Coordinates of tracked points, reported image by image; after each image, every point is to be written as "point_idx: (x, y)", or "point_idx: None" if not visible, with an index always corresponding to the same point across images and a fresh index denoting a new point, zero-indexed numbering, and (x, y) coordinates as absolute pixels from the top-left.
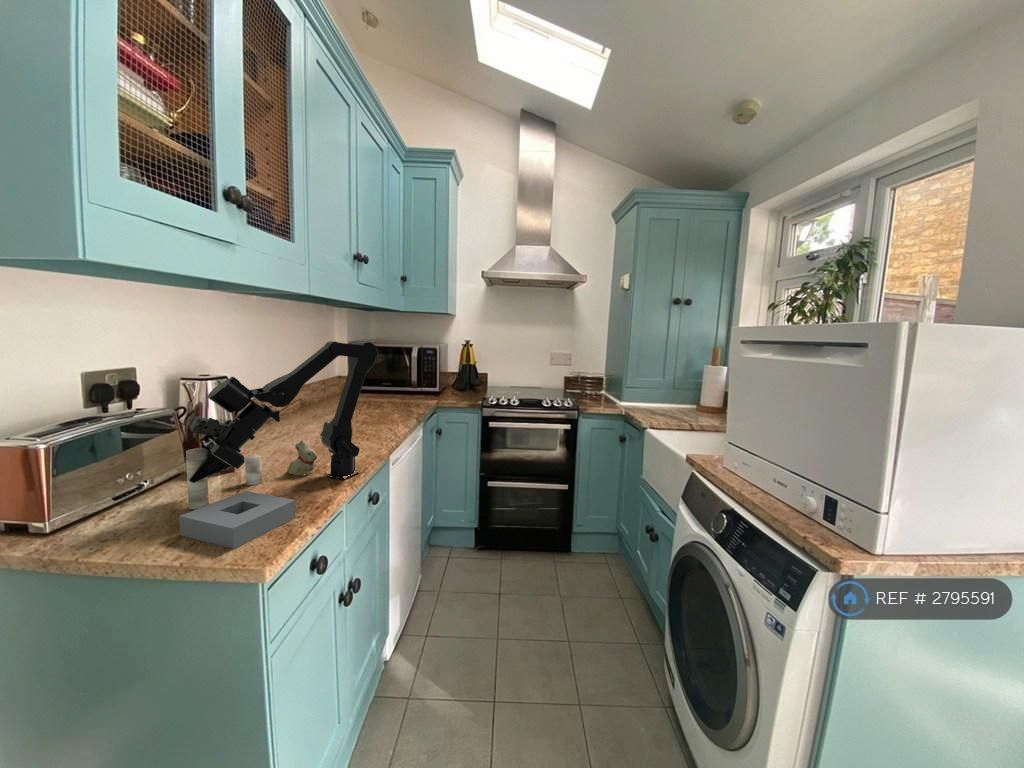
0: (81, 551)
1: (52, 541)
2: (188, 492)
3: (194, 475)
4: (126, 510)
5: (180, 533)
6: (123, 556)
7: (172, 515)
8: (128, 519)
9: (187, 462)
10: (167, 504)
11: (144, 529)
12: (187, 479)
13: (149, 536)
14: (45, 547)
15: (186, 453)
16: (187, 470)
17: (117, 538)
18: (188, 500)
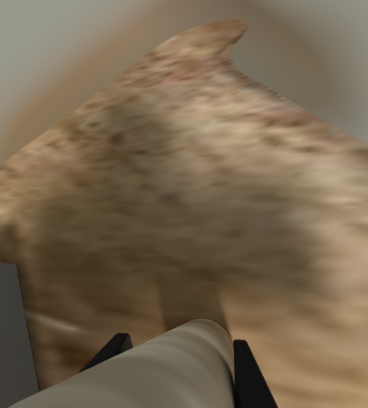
0: (94, 113)
1: (187, 68)
2: (186, 324)
3: (89, 367)
4: (314, 164)
5: (9, 264)
6: (12, 169)
7: (175, 266)
8: (225, 171)
9: (114, 357)
10: (302, 265)
11: (121, 201)
12: (177, 331)
13: (68, 209)
14: (162, 65)
15: (67, 384)
16: (151, 341)
17: (110, 157)
18: (198, 320)
